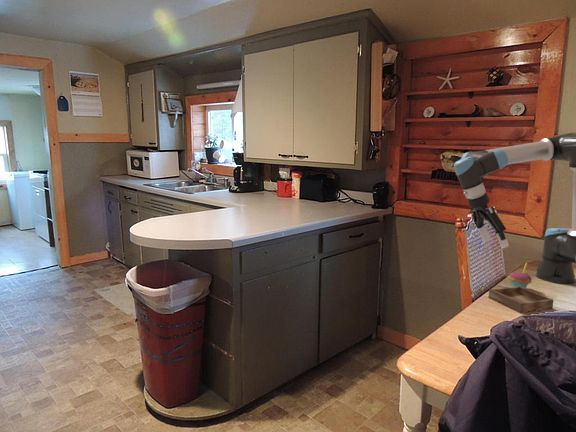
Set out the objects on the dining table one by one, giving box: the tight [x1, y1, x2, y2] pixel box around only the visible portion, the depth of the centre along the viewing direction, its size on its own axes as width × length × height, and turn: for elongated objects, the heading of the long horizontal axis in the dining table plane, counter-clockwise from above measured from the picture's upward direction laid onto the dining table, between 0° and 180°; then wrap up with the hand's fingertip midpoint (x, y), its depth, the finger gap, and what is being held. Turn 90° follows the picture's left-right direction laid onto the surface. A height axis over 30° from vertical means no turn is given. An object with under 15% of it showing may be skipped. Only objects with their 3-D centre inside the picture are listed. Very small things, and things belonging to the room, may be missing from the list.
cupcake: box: [507, 260, 532, 289], centre depth 171 cm, size 9×8×12 cm
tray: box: [488, 286, 554, 314], centre depth 156 cm, size 15×15×4 cm
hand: (496, 244), depth 164 cm, fingers open, 13 cm apart
